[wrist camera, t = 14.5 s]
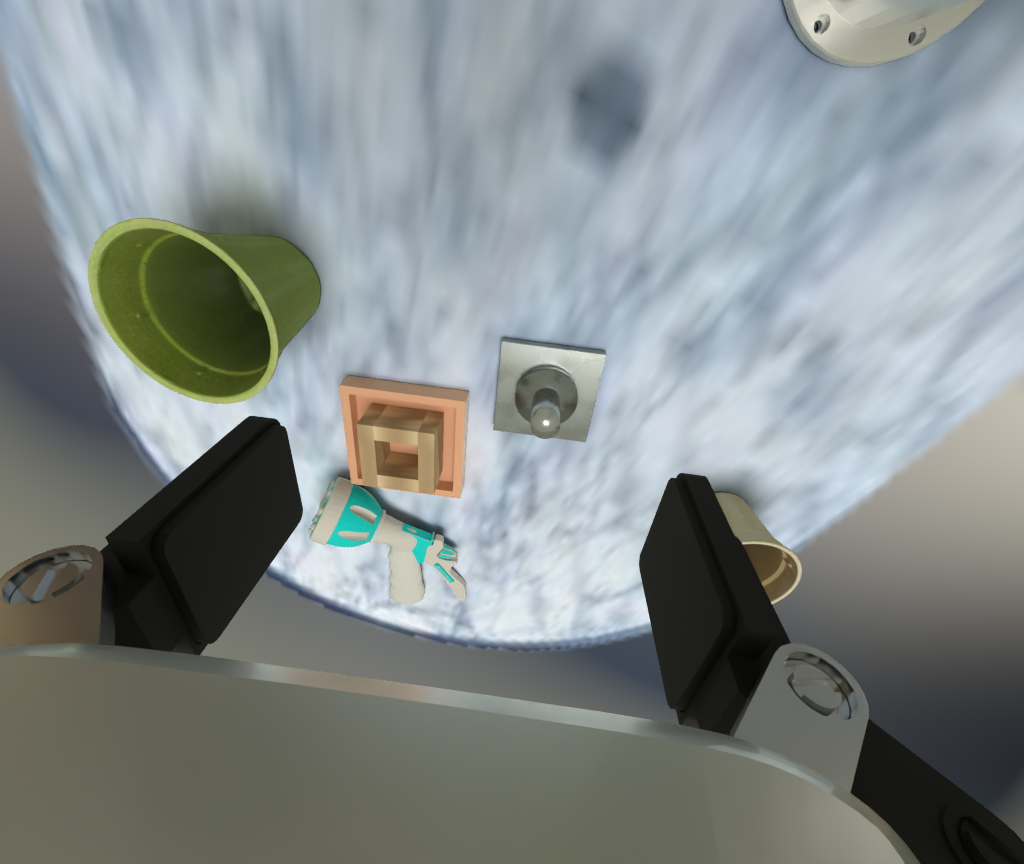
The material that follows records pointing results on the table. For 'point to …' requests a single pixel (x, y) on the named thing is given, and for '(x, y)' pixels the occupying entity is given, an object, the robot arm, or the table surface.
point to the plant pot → (201, 304)
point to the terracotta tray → (450, 401)
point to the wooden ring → (401, 428)
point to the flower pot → (762, 548)
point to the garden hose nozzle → (384, 540)
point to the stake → (547, 389)
